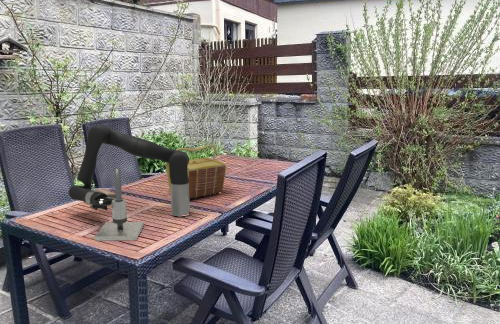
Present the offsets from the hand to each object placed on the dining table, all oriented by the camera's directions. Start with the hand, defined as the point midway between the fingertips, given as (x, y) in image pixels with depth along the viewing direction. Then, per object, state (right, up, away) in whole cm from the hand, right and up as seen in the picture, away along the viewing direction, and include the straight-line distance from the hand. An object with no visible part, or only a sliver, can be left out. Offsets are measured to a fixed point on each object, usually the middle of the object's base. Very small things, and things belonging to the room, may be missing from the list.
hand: (115, 205), depth 192 cm
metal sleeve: (+2, -5, -1) cm, 6 cm away
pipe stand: (+2, -13, 0) cm, 13 cm away
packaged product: (-23, -2, +55) cm, 60 cm away
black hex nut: (+2, -7, -1) cm, 8 cm away
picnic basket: (+29, 0, +64) cm, 70 cm away
